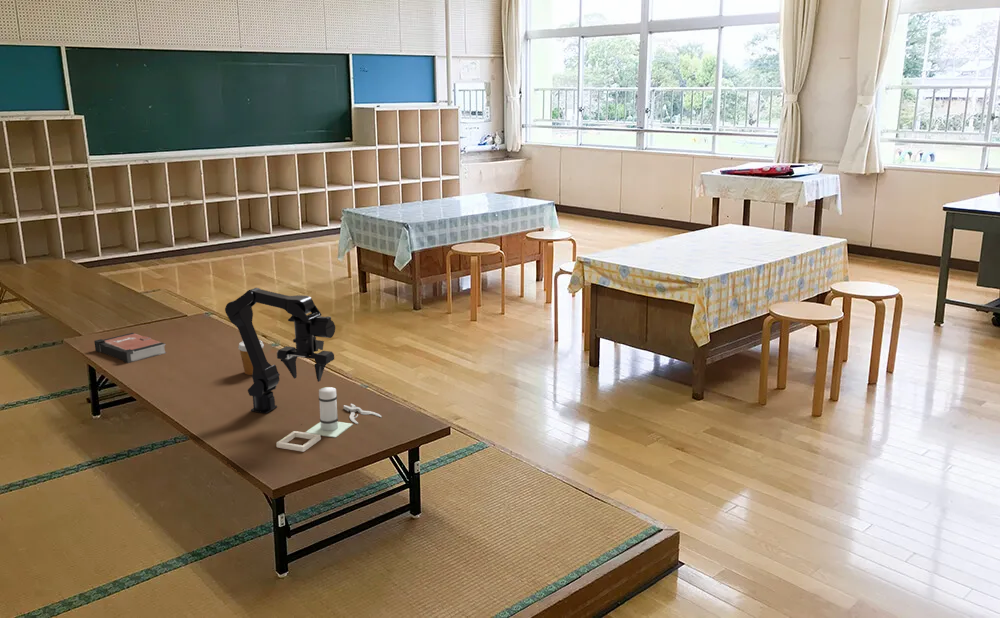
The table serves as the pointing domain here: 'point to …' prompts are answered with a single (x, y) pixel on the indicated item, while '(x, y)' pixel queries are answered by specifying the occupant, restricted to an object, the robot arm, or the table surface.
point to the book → (130, 347)
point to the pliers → (355, 409)
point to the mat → (334, 433)
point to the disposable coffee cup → (247, 358)
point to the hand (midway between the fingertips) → (307, 379)
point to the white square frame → (313, 437)
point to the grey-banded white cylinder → (328, 409)
